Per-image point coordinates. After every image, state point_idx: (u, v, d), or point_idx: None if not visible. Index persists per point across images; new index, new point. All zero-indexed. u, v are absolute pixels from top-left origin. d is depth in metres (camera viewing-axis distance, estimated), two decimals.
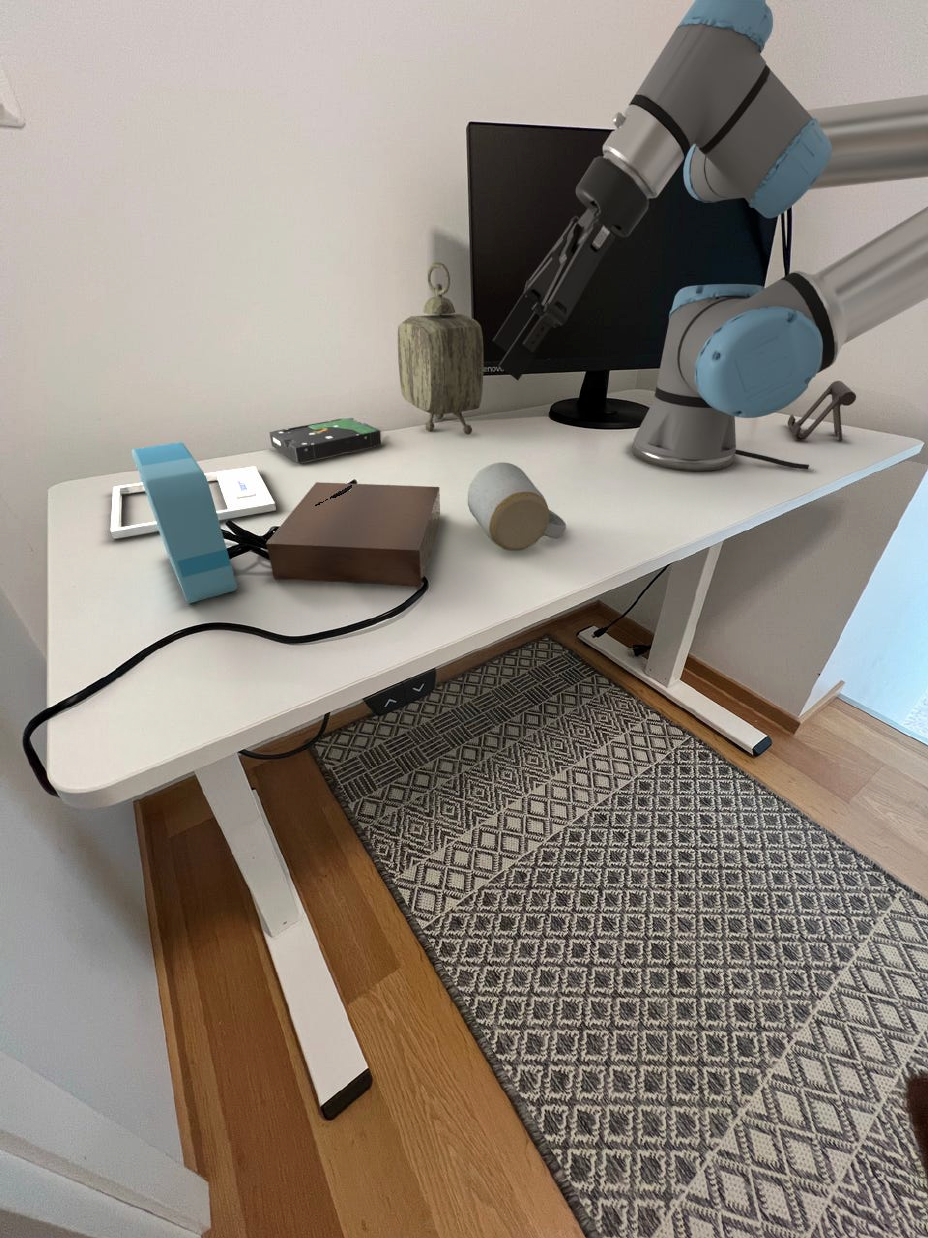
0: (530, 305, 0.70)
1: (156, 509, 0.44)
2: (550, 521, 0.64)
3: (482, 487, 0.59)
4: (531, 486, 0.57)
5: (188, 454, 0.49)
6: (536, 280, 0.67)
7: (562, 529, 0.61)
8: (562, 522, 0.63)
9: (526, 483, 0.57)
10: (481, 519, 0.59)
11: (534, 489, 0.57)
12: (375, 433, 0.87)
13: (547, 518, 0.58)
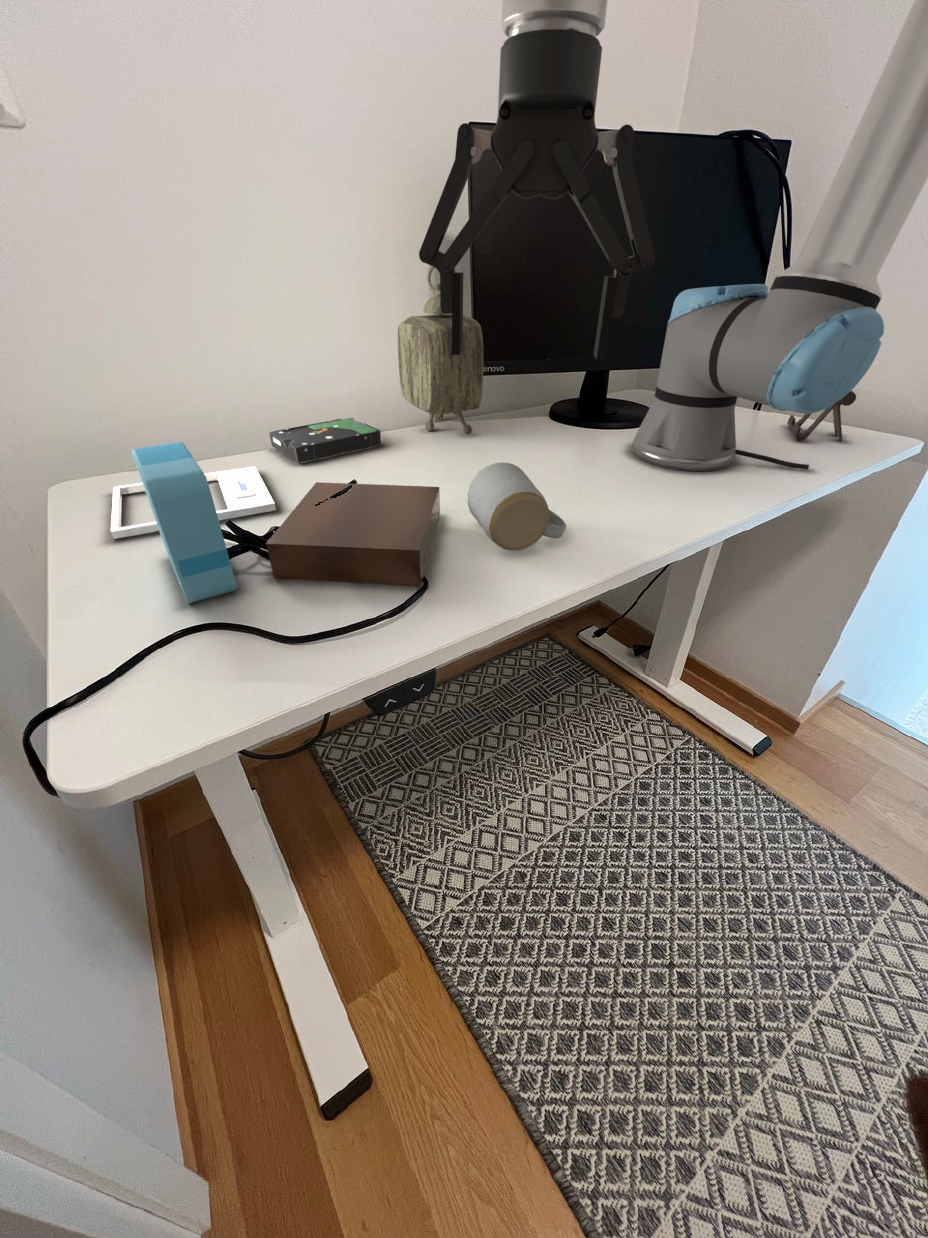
0: (462, 278, 0.49)
1: (156, 509, 0.44)
2: (550, 521, 0.64)
3: (482, 487, 0.59)
4: (531, 486, 0.57)
5: (188, 454, 0.49)
6: (470, 243, 0.47)
7: (562, 529, 0.61)
8: (562, 522, 0.63)
9: (526, 483, 0.57)
10: (481, 519, 0.59)
11: (534, 489, 0.57)
12: (375, 433, 0.87)
13: (547, 518, 0.58)
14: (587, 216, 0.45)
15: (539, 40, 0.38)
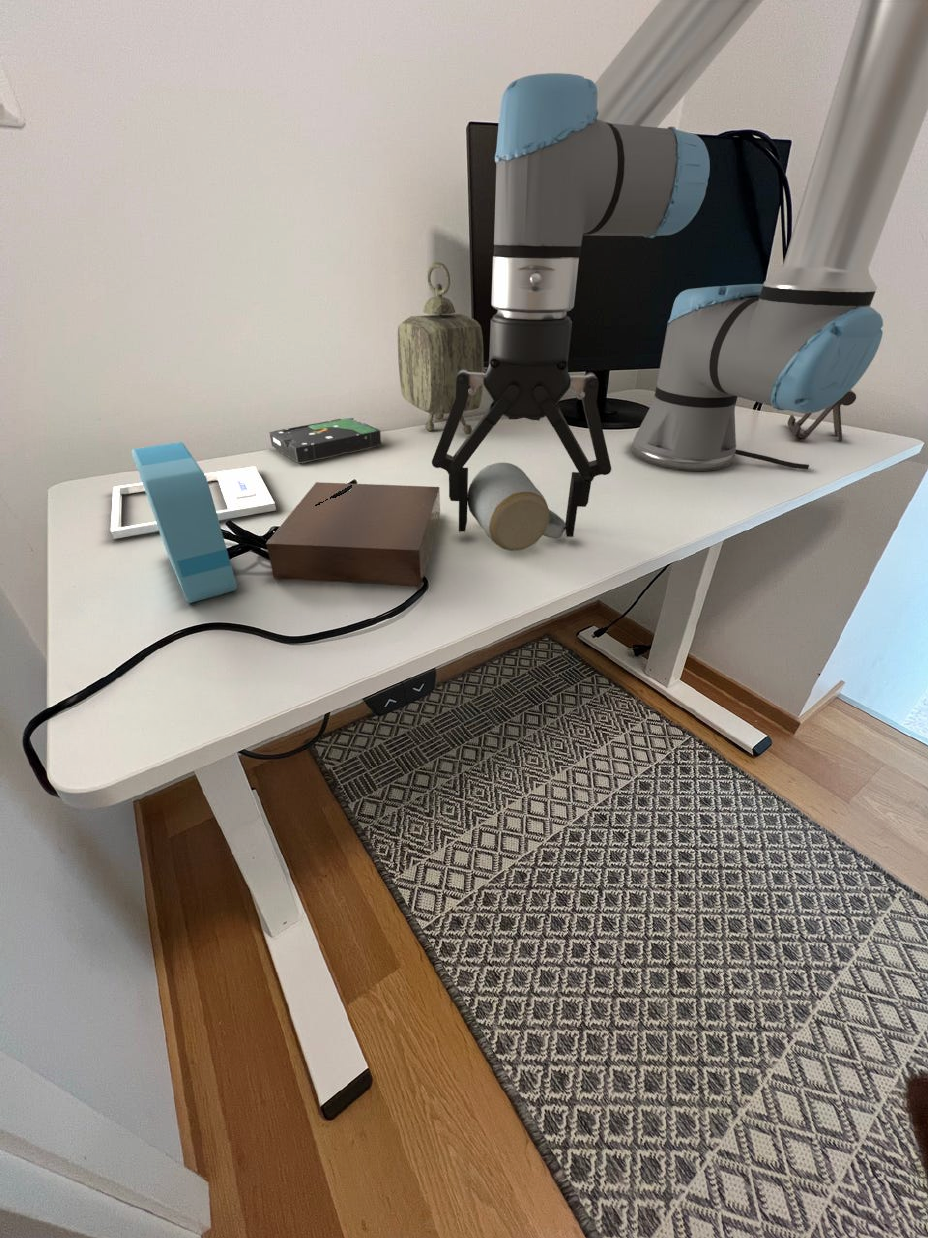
0: (467, 474, 0.59)
1: (156, 509, 0.44)
2: (550, 521, 0.64)
3: (482, 487, 0.59)
4: (531, 486, 0.57)
5: (188, 454, 0.49)
6: (472, 453, 0.57)
7: (562, 529, 0.61)
8: (562, 522, 0.63)
9: (526, 483, 0.57)
10: (481, 519, 0.59)
11: (534, 489, 0.57)
12: (375, 433, 0.87)
13: (547, 518, 0.58)
14: (559, 436, 0.55)
15: (521, 328, 0.47)
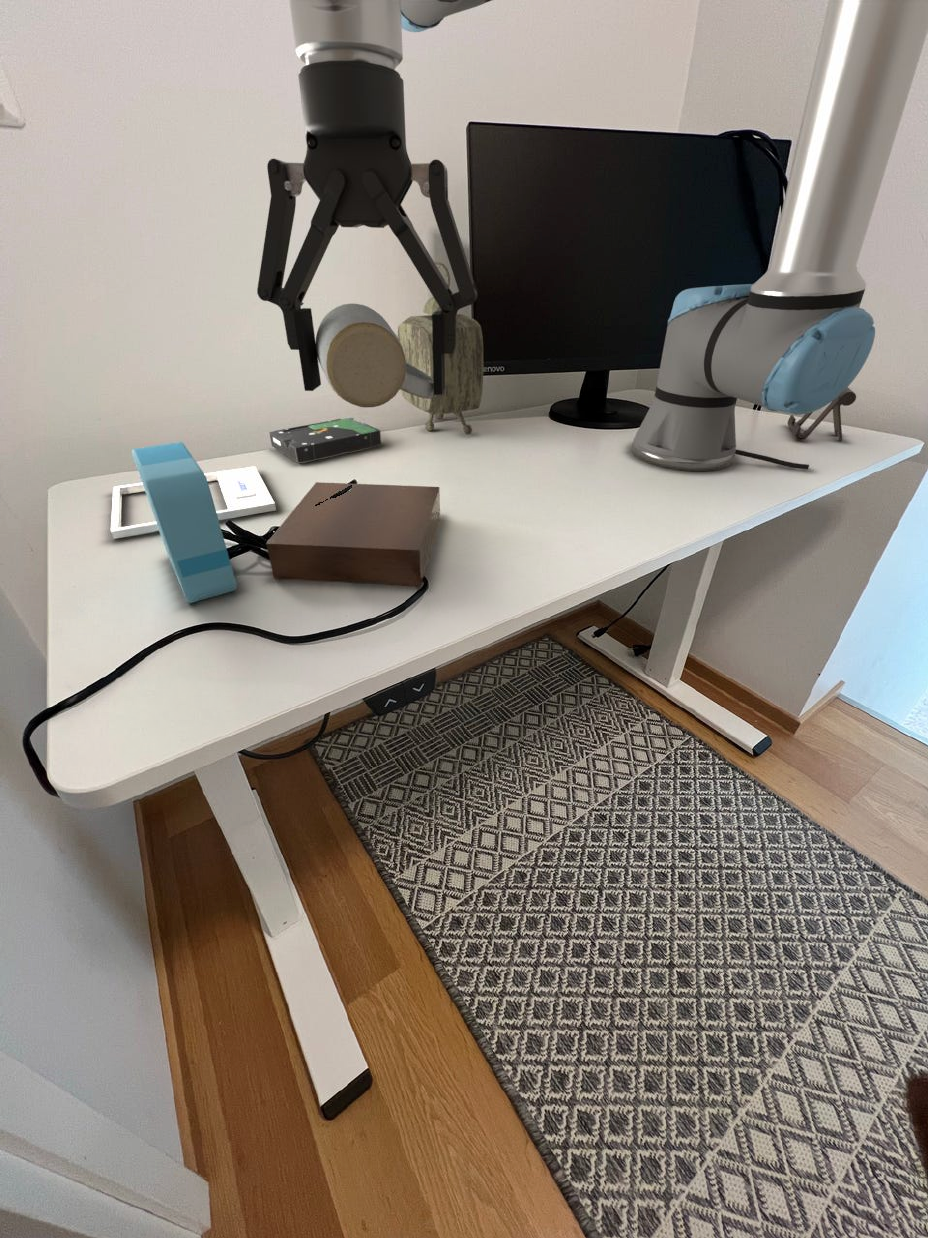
0: (307, 314, 0.49)
1: (156, 509, 0.44)
2: None
3: (324, 328, 0.48)
4: (379, 320, 0.46)
5: (188, 454, 0.49)
6: (305, 279, 0.46)
7: (428, 385, 0.50)
8: (433, 382, 0.52)
9: (373, 317, 0.46)
10: (322, 366, 0.48)
11: (382, 323, 0.46)
12: (375, 433, 0.87)
13: (401, 362, 0.47)
14: (405, 249, 0.44)
15: (325, 72, 0.37)
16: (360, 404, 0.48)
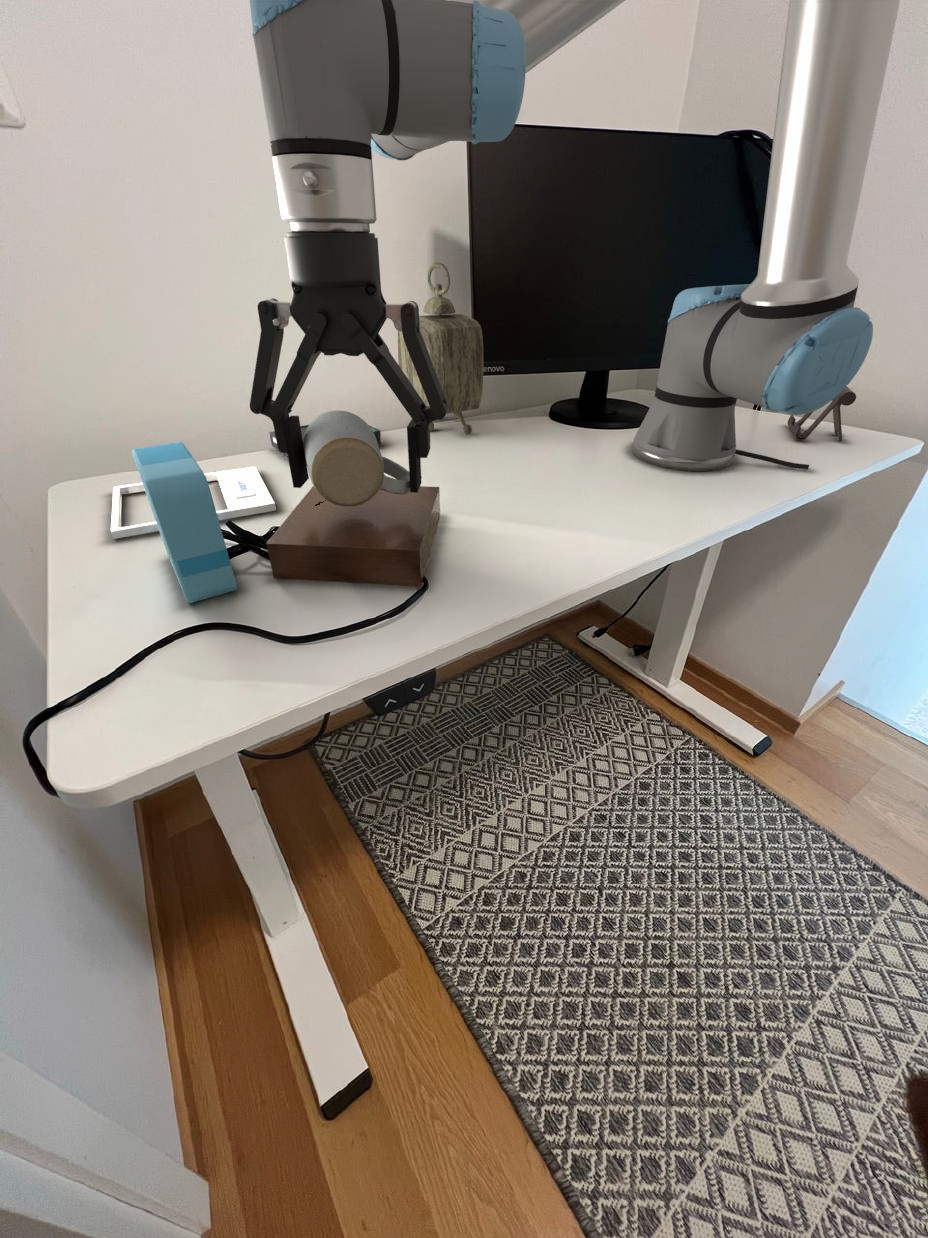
0: (295, 423, 0.54)
1: (156, 509, 0.44)
2: (401, 478, 0.59)
3: (310, 436, 0.53)
4: (359, 433, 0.51)
5: (188, 454, 0.49)
6: (292, 396, 0.51)
7: (405, 484, 0.55)
8: None
9: (353, 430, 0.51)
10: None
11: (361, 436, 0.51)
12: (375, 433, 0.87)
13: (379, 469, 0.52)
14: (382, 374, 0.49)
15: (307, 241, 0.42)
16: (343, 505, 0.53)
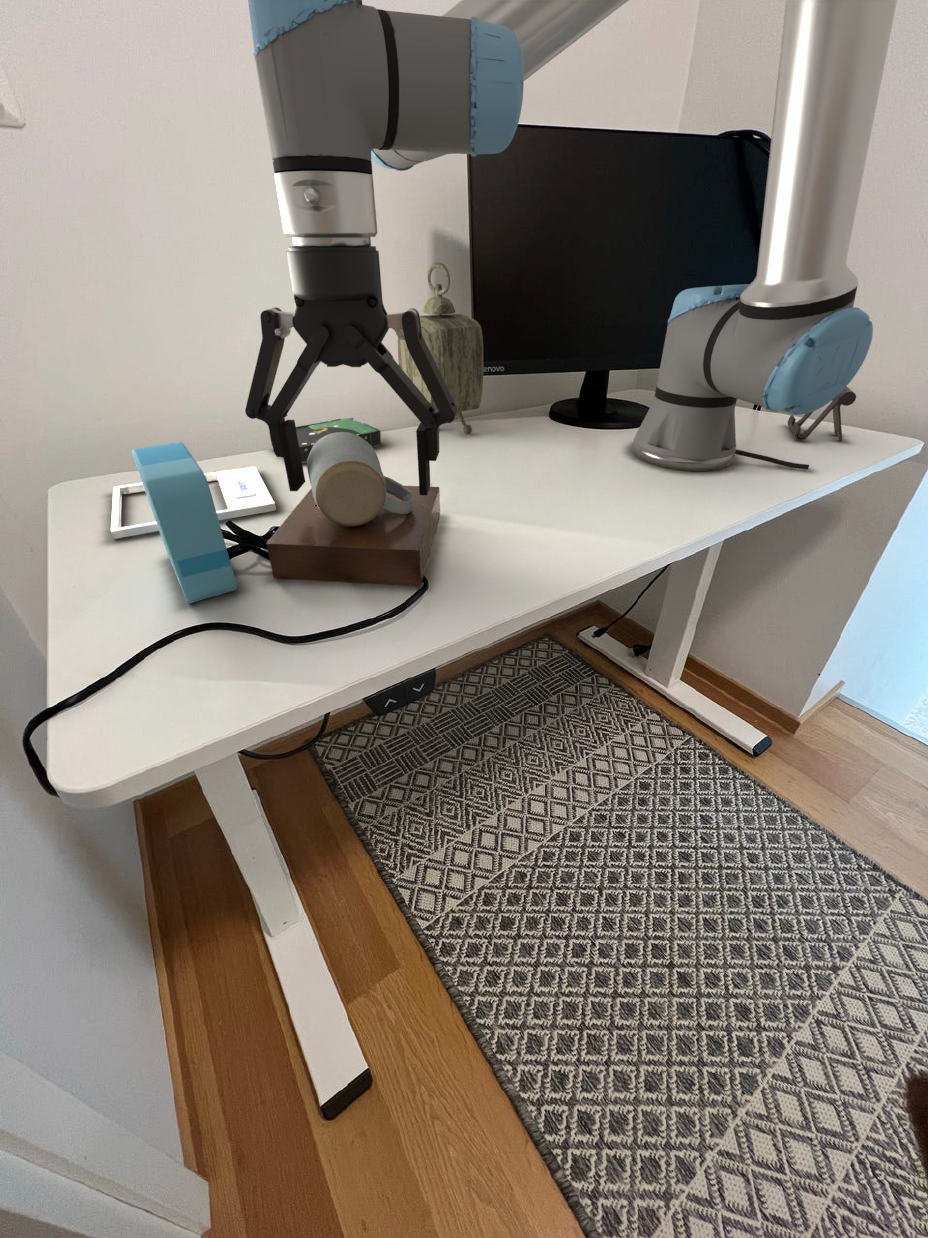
0: (291, 427, 0.54)
1: (156, 509, 0.44)
2: (403, 497, 0.60)
3: (314, 458, 0.54)
4: (362, 456, 0.53)
5: (188, 454, 0.49)
6: (289, 403, 0.51)
7: (407, 504, 0.56)
8: (412, 497, 0.58)
9: (357, 452, 0.53)
10: None
11: (364, 459, 0.52)
12: (375, 433, 0.87)
13: (381, 491, 0.53)
14: (388, 382, 0.50)
15: (309, 256, 0.42)
16: (346, 525, 0.54)
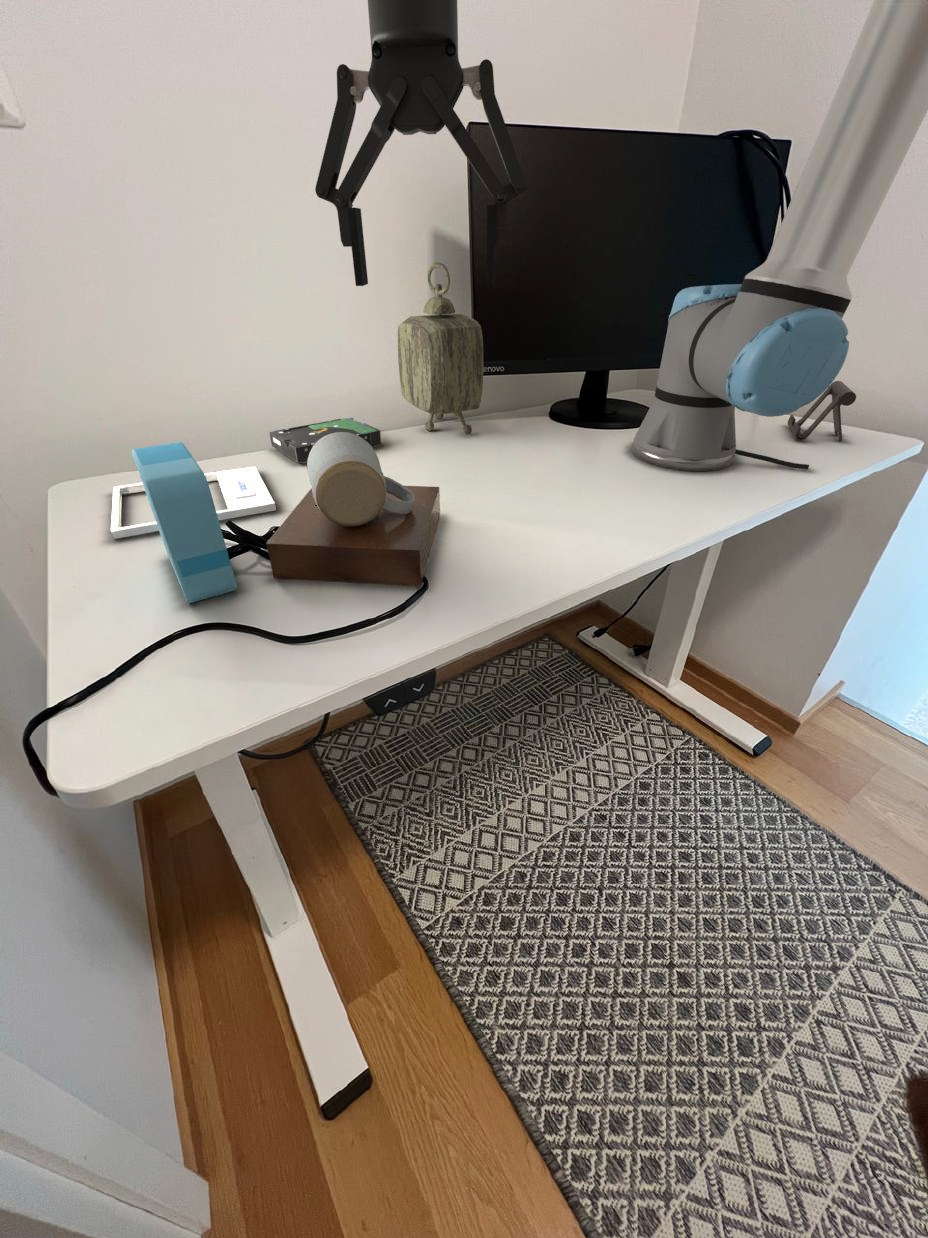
0: (358, 213, 0.54)
1: (156, 509, 0.44)
2: (403, 497, 0.60)
3: (314, 458, 0.54)
4: (362, 456, 0.53)
5: (188, 454, 0.49)
6: (360, 178, 0.52)
7: (407, 504, 0.56)
8: (412, 497, 0.58)
9: (357, 452, 0.53)
10: None
11: (364, 459, 0.52)
12: (375, 433, 0.87)
13: (381, 491, 0.53)
14: (461, 147, 0.50)
15: None
16: (346, 525, 0.54)
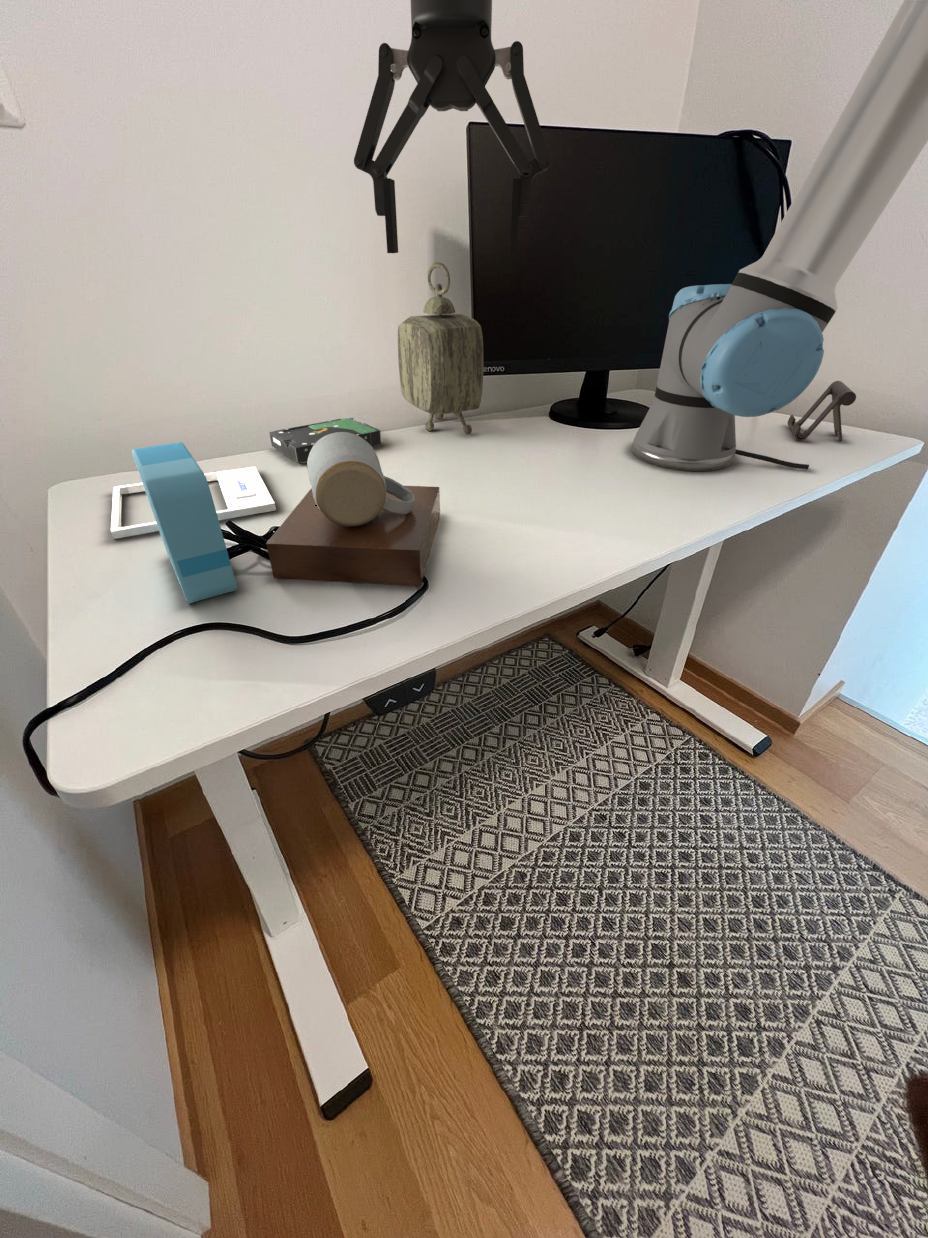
0: (392, 184, 0.58)
1: (156, 509, 0.44)
2: (403, 497, 0.60)
3: (314, 458, 0.54)
4: (362, 456, 0.53)
5: (188, 454, 0.49)
6: (396, 150, 0.56)
7: (407, 504, 0.56)
8: (412, 497, 0.58)
9: (357, 452, 0.53)
10: None
11: (364, 459, 0.52)
12: (375, 433, 0.87)
13: (381, 491, 0.53)
14: (491, 123, 0.54)
15: None
16: (346, 525, 0.54)
